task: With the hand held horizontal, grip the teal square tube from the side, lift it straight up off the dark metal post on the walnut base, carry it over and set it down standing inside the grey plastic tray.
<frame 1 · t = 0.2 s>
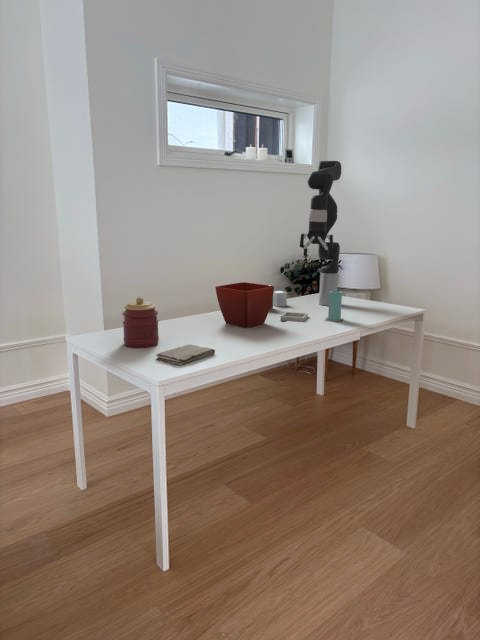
hand: (315, 257, 211), 29 cm above the table, tool pointing down, fingers open, 8 cm apart
canister: (141, 344, 179), on the table
tray: (294, 319, 221), on the table
soda can: (265, 309, 245), on the table
square wooden base: (334, 321, 219), on the table
skincare box: (278, 305, 255), on the table
washcloth: (185, 358, 163), on the table
plant pot: (244, 324, 212), on the table
teal square tube: (334, 319, 218), point 1 cm above the table, touching square wooden base
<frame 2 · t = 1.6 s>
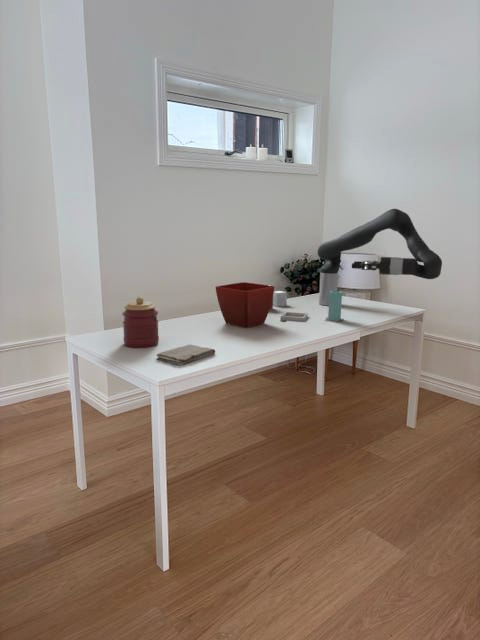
hand: (352, 264, 211), 26 cm above the table, tool horizontal, fingers open, 8 cm apart
nothing on the table moved.
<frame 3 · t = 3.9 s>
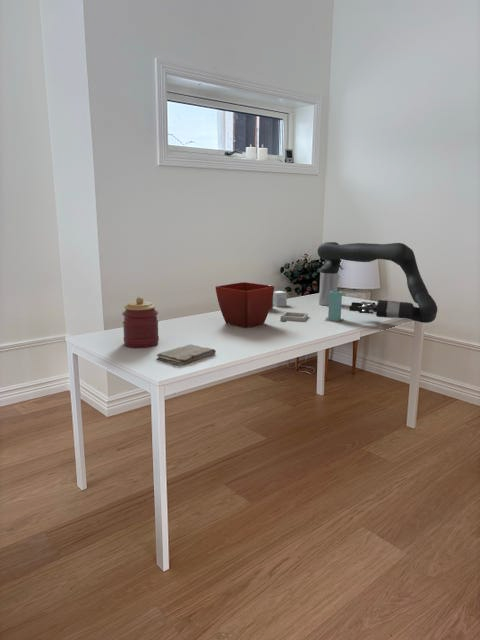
hand: (350, 306, 215), 7 cm above the table, tool horizontal, fingers open, 8 cm apart
nothing on the table moved.
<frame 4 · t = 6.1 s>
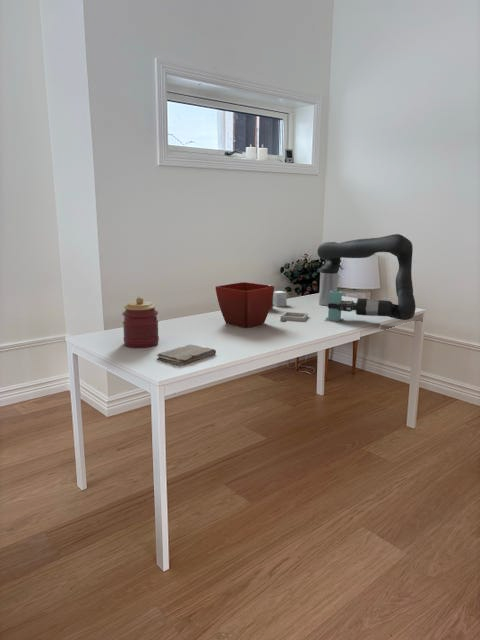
hand: (329, 304, 218), 7 cm above the table, tool horizontal, fingers closed on teal square tube, 5 cm apart
teal square tube: (334, 319, 218), point 1 cm above the table, touching gripper, square wooden base
everything else where it was.
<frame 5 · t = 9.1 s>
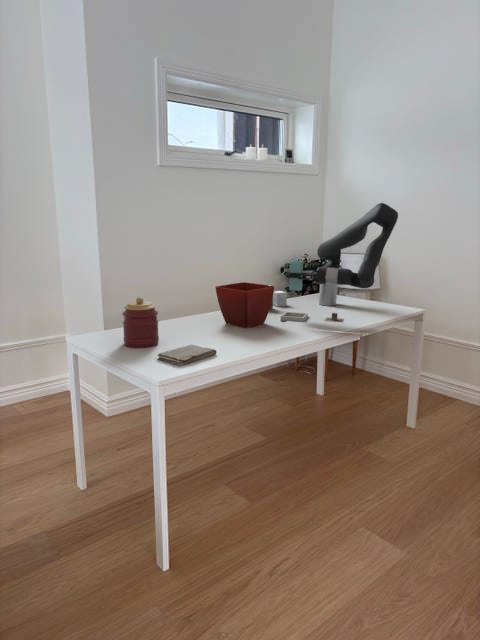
hand: (290, 274, 217), 21 cm above the table, tool horizontal, fingers closed on teal square tube, 5 cm apart
teal square tube: (295, 289, 218), point 14 cm above the table, touching gripper
everything else where it was.
when the fingers open (10 cm above the table, at t = 12.1 s): teal square tube drops 2 cm, resting on tray.
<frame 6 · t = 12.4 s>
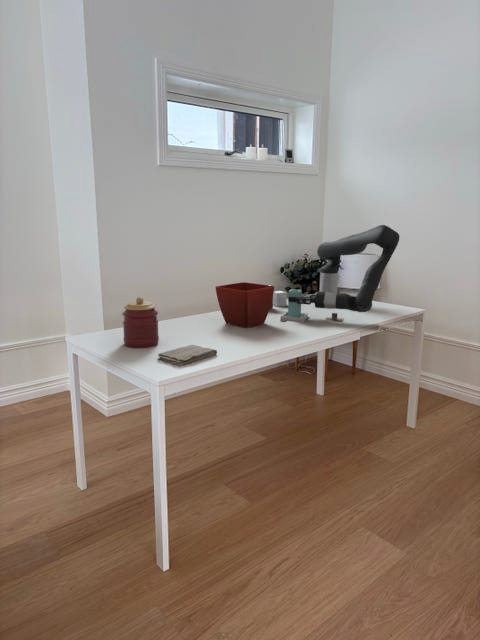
hand: (290, 297, 220), 10 cm above the table, tool horizontal, fingers open, 7 cm apart
teal square tube: (294, 318, 221), point 1 cm above the table, touching tray
everything else where it was.
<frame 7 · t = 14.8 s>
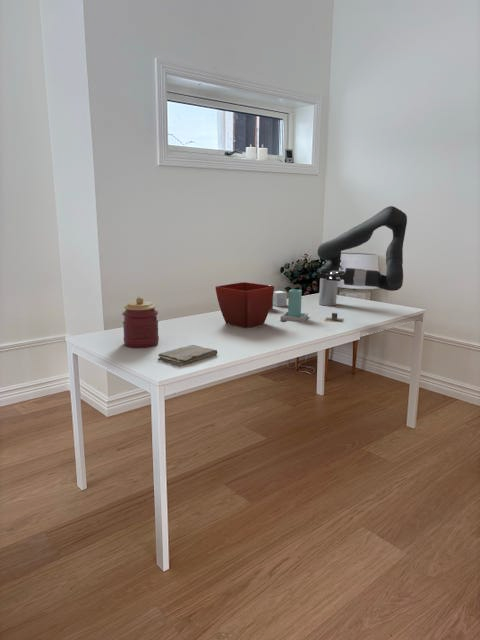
hand: (319, 274, 216), 21 cm above the table, tool horizontal, fingers open, 8 cm apart
nothing on the table moved.
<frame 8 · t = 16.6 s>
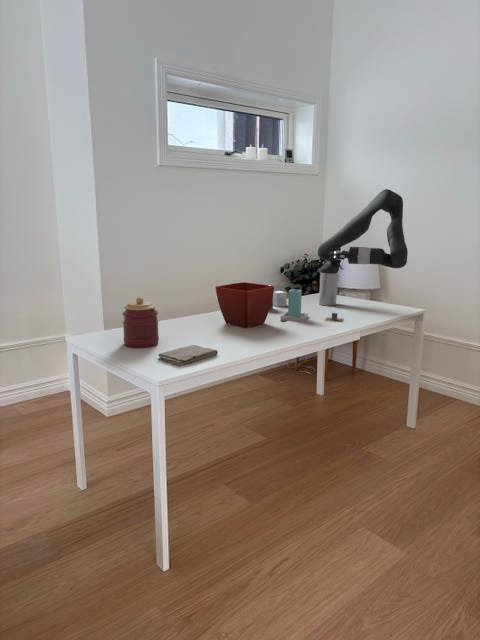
hand: (322, 254, 216), 30 cm above the table, tool horizontal, fingers open, 8 cm apart
nothing on the table moved.
at the end: teal square tube inside the target area on the tray (0.0 cm from its centre), point 0.6 cm above the tray's base; teal square tube tilted 0°; the gripper is holding nothing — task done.
